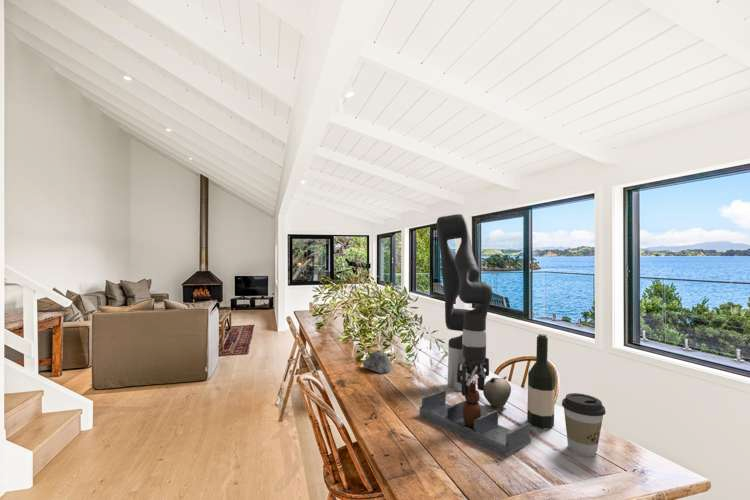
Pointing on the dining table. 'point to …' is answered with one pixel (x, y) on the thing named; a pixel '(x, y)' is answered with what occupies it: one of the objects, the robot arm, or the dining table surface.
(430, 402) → the grey shelf
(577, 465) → the dining table surface
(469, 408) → the wooden figurine
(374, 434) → the dining table surface
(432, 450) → the dining table surface
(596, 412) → the coffee cup
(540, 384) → the wine bottle
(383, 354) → the mineral rock
